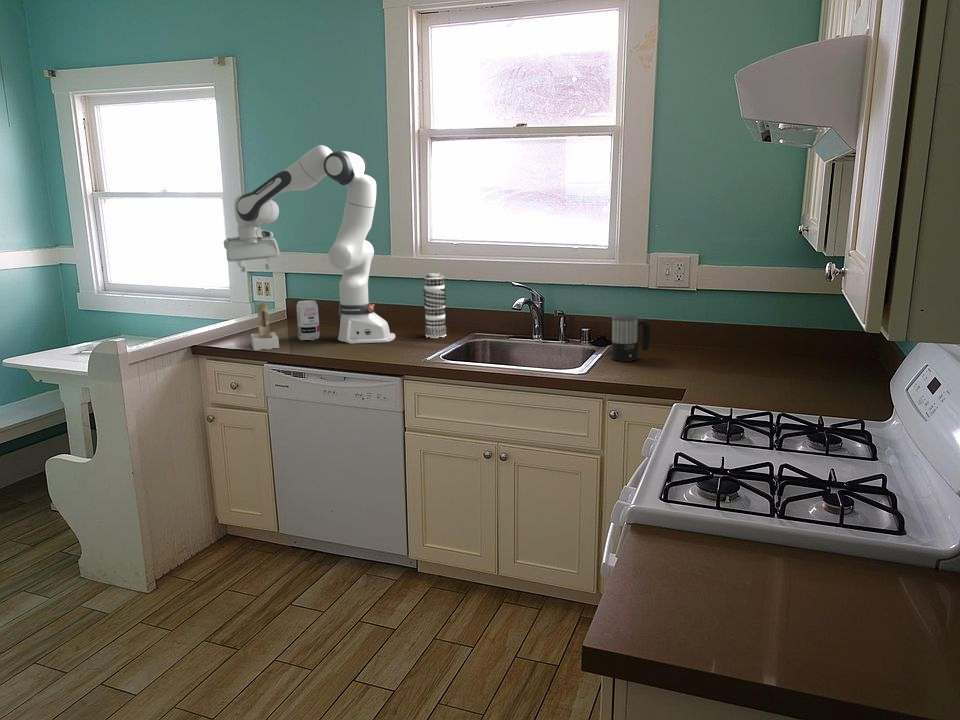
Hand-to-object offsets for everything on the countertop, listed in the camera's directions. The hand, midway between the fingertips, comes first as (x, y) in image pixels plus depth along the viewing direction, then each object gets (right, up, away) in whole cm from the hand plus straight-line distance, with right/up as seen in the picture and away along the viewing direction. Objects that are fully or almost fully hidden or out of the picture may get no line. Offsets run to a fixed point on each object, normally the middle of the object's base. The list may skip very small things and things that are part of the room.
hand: (255, 270), depth 300 cm
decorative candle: (+71, -26, +3) cm, 76 cm away
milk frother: (+139, -35, -36) cm, 148 cm away
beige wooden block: (+7, -29, -12) cm, 32 cm away
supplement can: (+21, -28, +1) cm, 35 cm away
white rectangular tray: (+7, -31, -12) cm, 34 cm away
